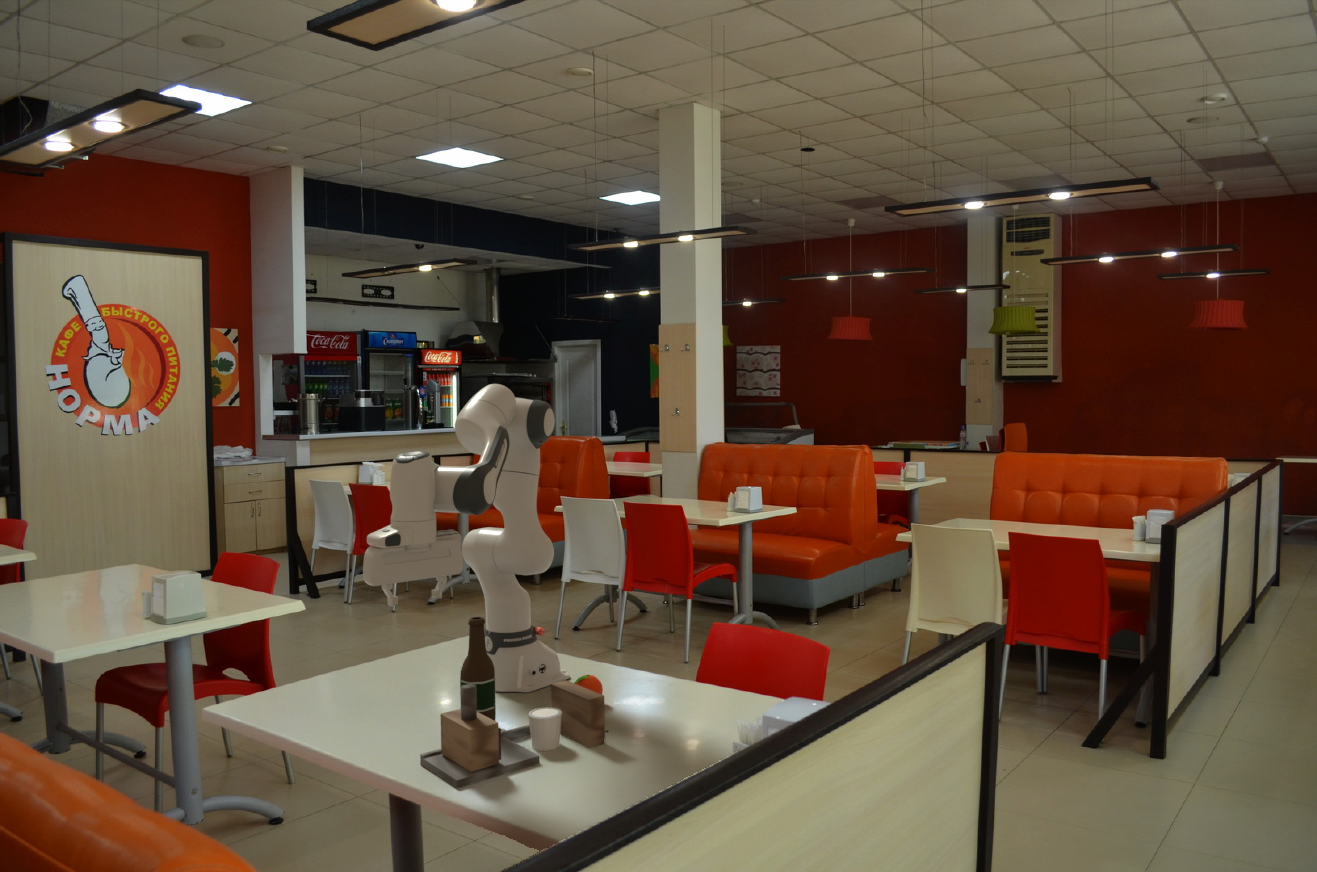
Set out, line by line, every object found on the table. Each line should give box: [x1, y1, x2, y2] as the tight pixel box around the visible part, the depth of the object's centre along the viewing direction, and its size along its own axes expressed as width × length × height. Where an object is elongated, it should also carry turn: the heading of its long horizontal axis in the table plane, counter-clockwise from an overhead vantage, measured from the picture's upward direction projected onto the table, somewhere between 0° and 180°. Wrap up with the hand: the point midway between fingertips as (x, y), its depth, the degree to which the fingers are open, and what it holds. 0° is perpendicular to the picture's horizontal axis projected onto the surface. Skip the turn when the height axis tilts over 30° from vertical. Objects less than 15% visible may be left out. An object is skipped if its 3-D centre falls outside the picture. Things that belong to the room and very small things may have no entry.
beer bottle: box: [459, 616, 497, 721], centre depth 206 cm, size 8×8×24 cm
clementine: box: [573, 674, 604, 695], centre depth 220 cm, size 8×7×7 cm
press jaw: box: [440, 684, 502, 772], centre depth 184 cm, size 7×12×14 cm, turn 40°
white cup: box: [528, 706, 562, 752], centre depth 195 cm, size 7×7×7 cm
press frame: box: [419, 679, 606, 789], centre depth 191 cm, size 34×15×10 cm, turn 130°
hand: (415, 601), depth 189 cm, fingers open, 8 cm apart
